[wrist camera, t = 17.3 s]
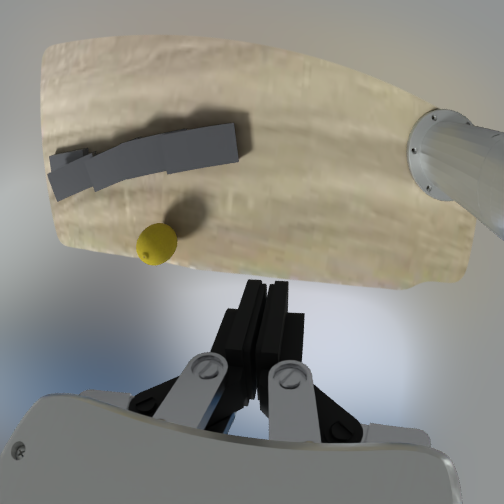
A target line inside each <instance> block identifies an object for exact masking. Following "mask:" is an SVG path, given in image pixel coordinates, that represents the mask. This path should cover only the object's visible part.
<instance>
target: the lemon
mask: <svg viewBox="0 0 504 504" xmlns="http://www.w3.org/2000/svg"><path fill="white" fill-rule="evenodd" d="M176 247H177V236H176V233H175V232H174V230H173V229H172V228H171V227H170V226H168V225H166V224H163V223H157V224H152V225H150V226H149V227H147V228H146V229H145V230H144V231H143V232H142V233H141V234H140V236H139V238H138V240H137V244H136V250H137V254H138V256H139V258H140V259H141V260H142V261H143V262H145V263H146V264H148V265H159V264H162V263H164V262H166V261H167V260H168V259H170V258H171V256H172V255H173V254H174V252H175V250H176Z"/></svg>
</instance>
